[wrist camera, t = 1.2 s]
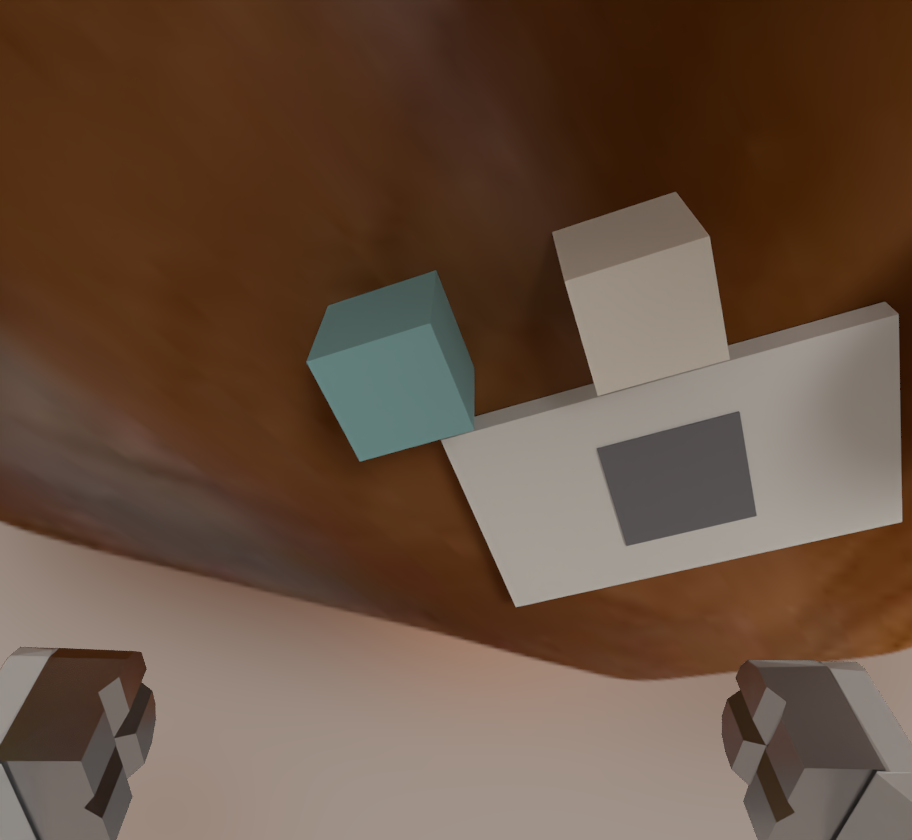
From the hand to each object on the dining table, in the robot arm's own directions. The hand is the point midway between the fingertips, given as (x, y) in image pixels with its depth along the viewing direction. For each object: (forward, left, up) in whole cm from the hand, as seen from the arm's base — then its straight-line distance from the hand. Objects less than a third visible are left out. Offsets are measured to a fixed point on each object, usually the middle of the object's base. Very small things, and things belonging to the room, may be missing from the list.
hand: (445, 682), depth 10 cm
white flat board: (-5, +16, -22) cm, 28 cm away
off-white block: (-5, +5, -23) cm, 24 cm away
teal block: (+5, +5, -23) cm, 24 cm away
